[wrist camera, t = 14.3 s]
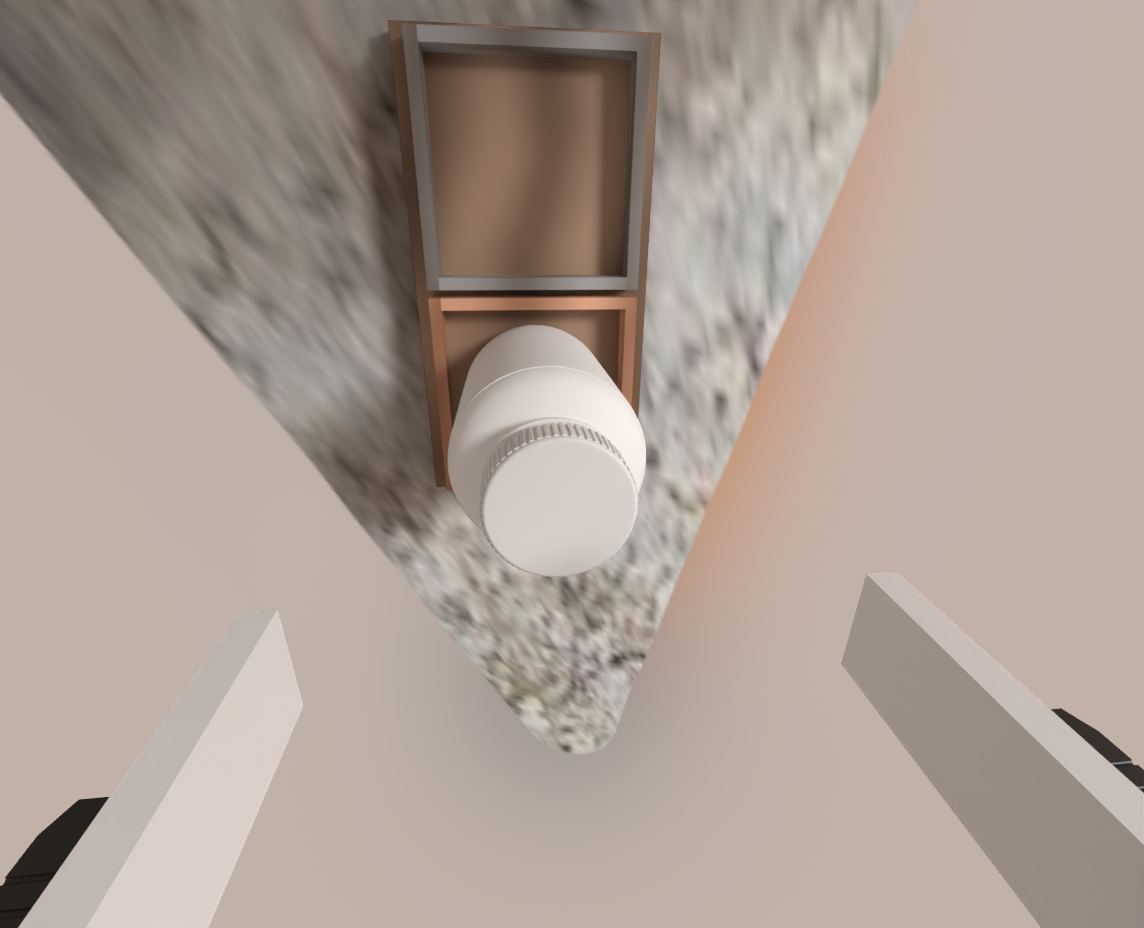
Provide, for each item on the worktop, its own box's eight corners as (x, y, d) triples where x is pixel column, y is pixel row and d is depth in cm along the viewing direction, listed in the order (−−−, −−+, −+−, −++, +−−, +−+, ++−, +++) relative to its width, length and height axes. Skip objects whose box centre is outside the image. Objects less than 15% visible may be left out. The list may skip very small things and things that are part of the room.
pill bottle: (619, 339, 31) (710, 427, 17) (582, 465, 33) (634, 627, 20) (480, 304, 29) (458, 370, 15) (454, 439, 32) (416, 597, 18)
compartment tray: (654, 41, 26) (669, 21, 24) (630, 470, 35) (639, 488, 33) (392, 29, 25) (380, 7, 22) (438, 478, 34) (433, 498, 32)
